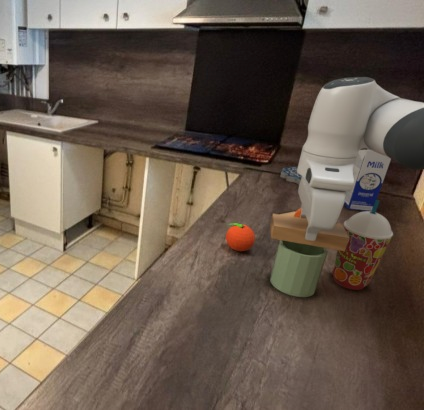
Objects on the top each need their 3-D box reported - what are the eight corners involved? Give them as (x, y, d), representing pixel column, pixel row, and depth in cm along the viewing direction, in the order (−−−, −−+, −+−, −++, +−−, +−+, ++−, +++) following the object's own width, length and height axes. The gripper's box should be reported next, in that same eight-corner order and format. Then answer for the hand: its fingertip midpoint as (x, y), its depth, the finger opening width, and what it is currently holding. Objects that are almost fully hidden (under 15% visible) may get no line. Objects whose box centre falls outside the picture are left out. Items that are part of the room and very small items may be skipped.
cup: (311, 278, 82) (323, 240, 78) (317, 301, 74) (331, 260, 70) (269, 270, 85) (278, 232, 81) (271, 291, 77) (281, 251, 73)
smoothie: (318, 276, 82) (343, 196, 74) (343, 268, 85) (370, 190, 77) (354, 297, 75) (386, 211, 67) (380, 289, 78) (414, 205, 70)
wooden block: (269, 225, 80) (272, 213, 79) (338, 236, 75) (342, 223, 74) (271, 238, 75) (274, 225, 73) (344, 251, 70) (349, 237, 69)
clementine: (215, 247, 95) (219, 223, 92) (228, 238, 99) (233, 215, 96) (244, 259, 89) (249, 234, 86) (257, 250, 93) (262, 225, 90)
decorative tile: (272, 171, 154) (273, 165, 153) (319, 171, 153) (321, 166, 152) (295, 187, 135) (297, 181, 134) (349, 188, 134) (351, 182, 133)
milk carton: (347, 209, 117) (366, 149, 109) (340, 201, 123) (358, 144, 115) (373, 211, 115) (394, 151, 107) (364, 203, 121) (384, 145, 113)
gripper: (299, 151, 79) (285, 209, 84) (313, 180, 61) (294, 250, 67) (333, 155, 76) (316, 213, 82) (357, 186, 59) (333, 257, 65)
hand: (306, 230), depth 74 cm, fingers closed on wooden block, 6 cm apart
